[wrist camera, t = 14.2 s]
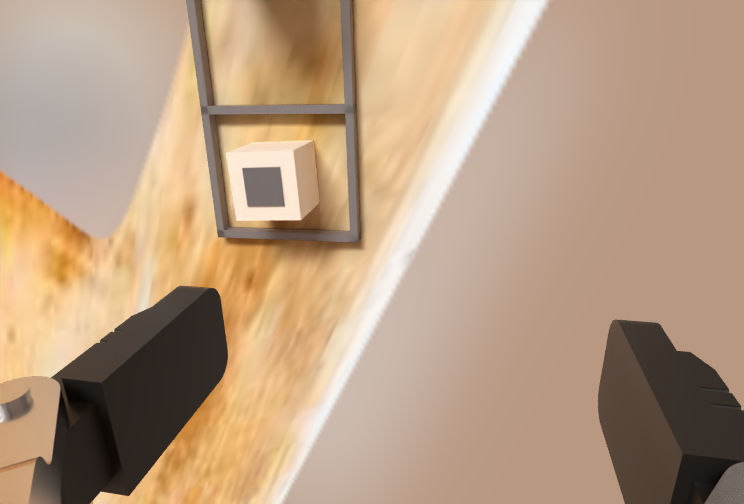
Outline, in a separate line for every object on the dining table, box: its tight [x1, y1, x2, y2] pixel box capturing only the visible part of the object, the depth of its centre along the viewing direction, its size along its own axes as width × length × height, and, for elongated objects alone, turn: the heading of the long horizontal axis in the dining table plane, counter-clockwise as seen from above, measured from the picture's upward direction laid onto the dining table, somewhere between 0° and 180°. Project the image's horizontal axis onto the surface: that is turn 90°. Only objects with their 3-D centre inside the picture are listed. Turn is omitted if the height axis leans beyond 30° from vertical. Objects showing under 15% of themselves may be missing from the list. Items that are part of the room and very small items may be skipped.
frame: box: [186, 0, 360, 242], centre depth 38 cm, size 30×12×1 cm, turn 1°
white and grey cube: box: [226, 140, 320, 221], centre depth 39 cm, size 5×5×5 cm
